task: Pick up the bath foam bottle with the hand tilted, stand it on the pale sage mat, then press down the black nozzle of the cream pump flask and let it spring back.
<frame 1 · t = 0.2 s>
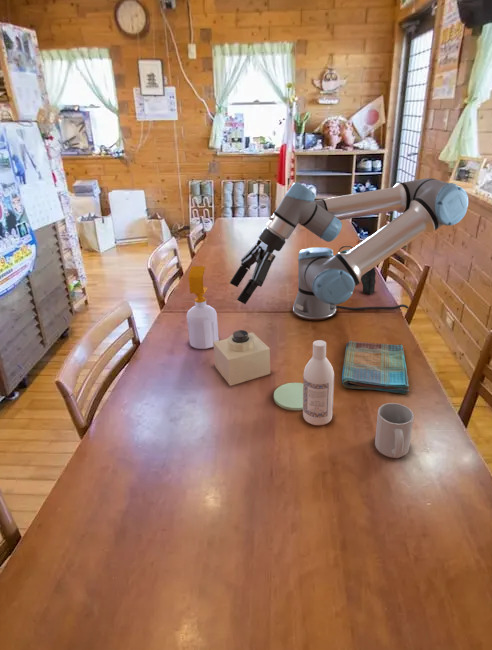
hand: (237, 293, 137), 16 cm above the table, tool tilted 35°, fingers open, 13 cm apart
mat: (295, 397, 115), on the table
pump flask: (242, 370, 127), on the table
cup: (392, 452, 97), on the table
nozzle: (240, 336, 122), point 11 cm above the table, slide at 0.1 cm
bath foam: (317, 417, 108), on the table
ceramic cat: (353, 289, 180), on the table
dish towel: (374, 368, 127), on the table
soap bottle: (204, 343, 142), on the table
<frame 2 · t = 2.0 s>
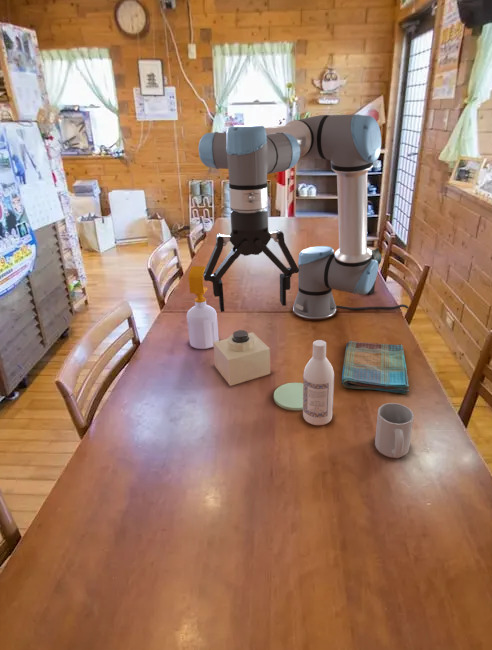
hand: (252, 306, 100), 27 cm above the table, tool pointing down, fingers open, 13 cm apart
nothing on the table moved.
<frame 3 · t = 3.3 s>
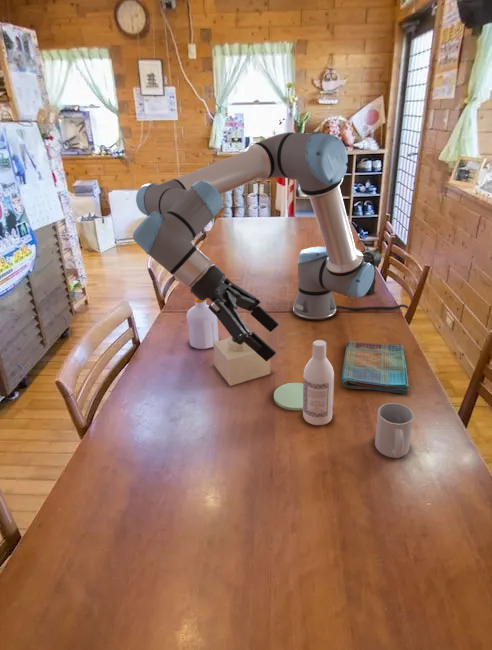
hand: (273, 341, 100), 20 cm above the table, tool tilted 45°, fingers open, 13 cm apart
nothing on the table moved.
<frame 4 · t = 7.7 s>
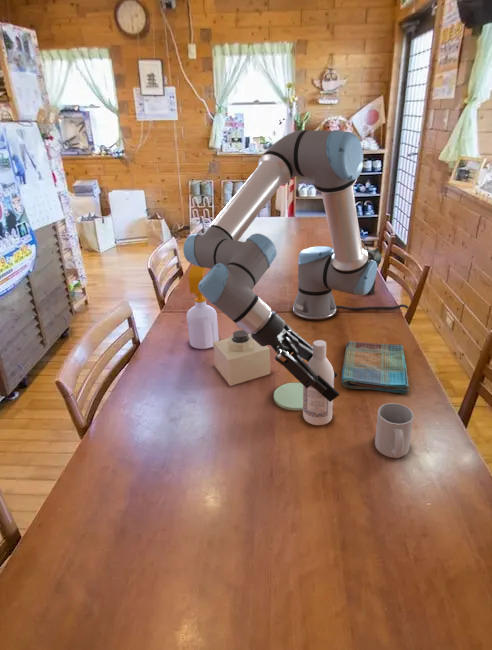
hand: (333, 387, 104), 8 cm above the table, tool tilted 45°, fingers closed on bath foam, 7 cm apart
bath foam: (317, 417, 108), on the table, touching gripper
everything else where it was.
when the fingers open (9 cm above the table, at t = 14.6 s): bath foam stays where it is, resting on mat.
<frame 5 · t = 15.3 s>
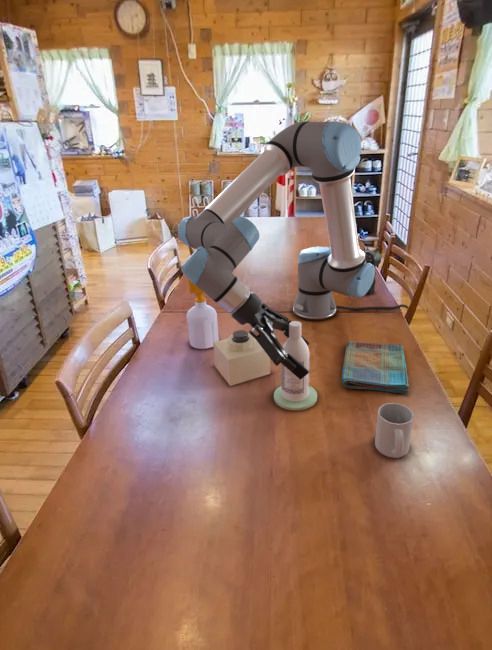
hand: (305, 360, 110), 11 cm above the table, tool tilted 45°, fingers open, 13 cm apart
bath foam: (295, 395, 115), point 1 cm above the table, touching mat
everything else where it was.
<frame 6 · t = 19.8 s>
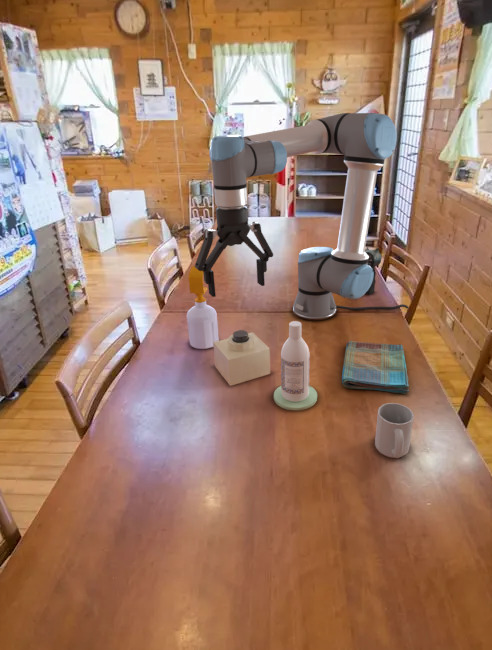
hand: (237, 289, 116), 24 cm above the table, tool pointing down, fingers open, 13 cm apart
nothing on the table moved.
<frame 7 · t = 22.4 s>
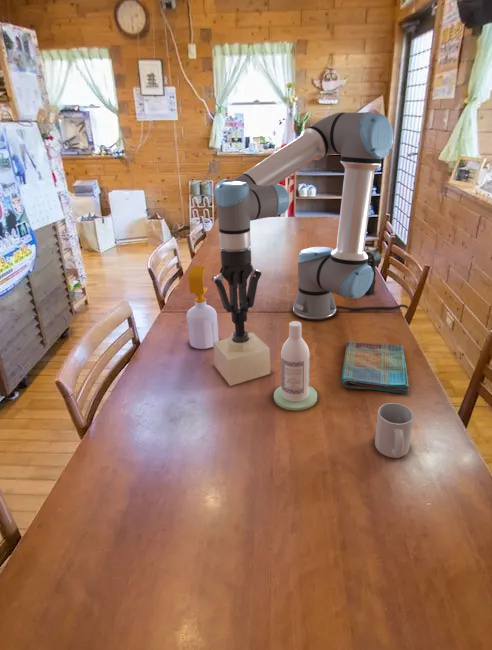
hand: (240, 332, 122), 12 cm above the table, tool pointing down, fingers closed
nozzle: (240, 336, 122), point 11 cm above the table, slide at 0.0 cm, touching gripper
everything else where it was.
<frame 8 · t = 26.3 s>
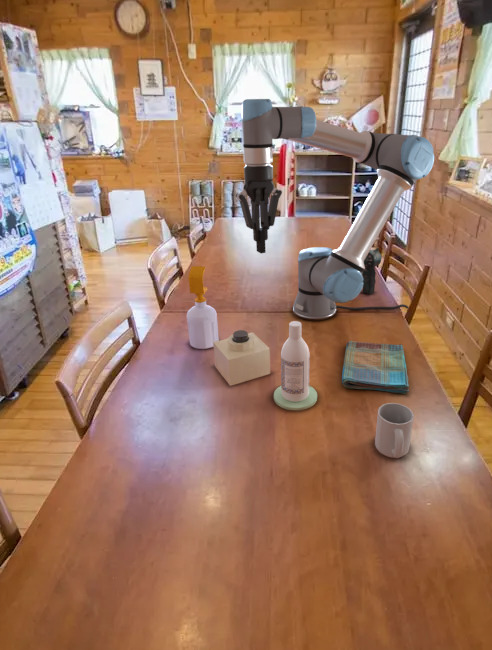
hand: (261, 251, 128), 29 cm above the table, tool pointing down, fingers closed
nozzle: (240, 336, 122), point 11 cm above the table, slide at 0.1 cm
everything else where it was.
at the end: bath foam 0.1 cm off-centre on the mat, point 0.6 cm above the mat's base; bath foam tilted 0°; nozzle pushed in 1.2 cm at the most during the clip, back to where it started at the end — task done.
